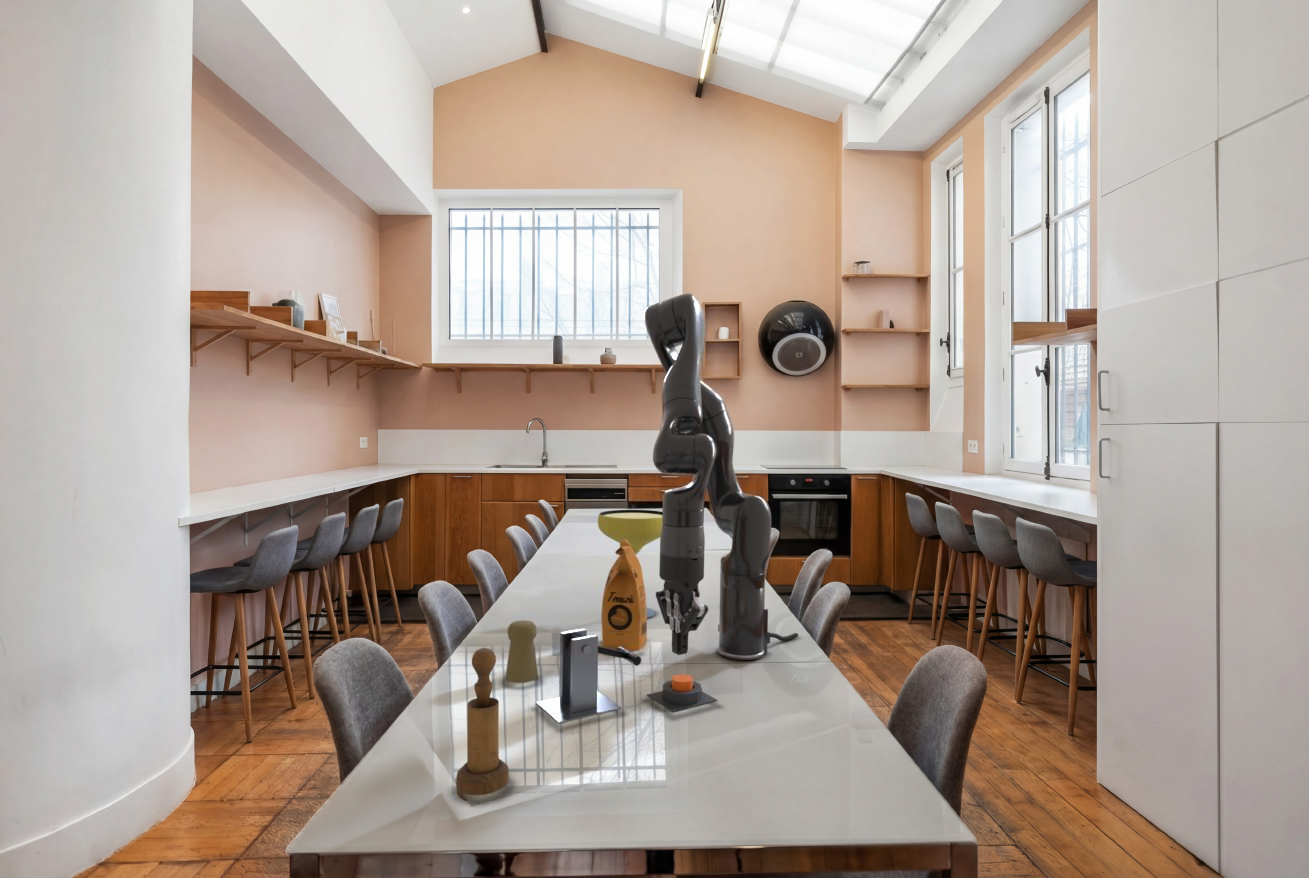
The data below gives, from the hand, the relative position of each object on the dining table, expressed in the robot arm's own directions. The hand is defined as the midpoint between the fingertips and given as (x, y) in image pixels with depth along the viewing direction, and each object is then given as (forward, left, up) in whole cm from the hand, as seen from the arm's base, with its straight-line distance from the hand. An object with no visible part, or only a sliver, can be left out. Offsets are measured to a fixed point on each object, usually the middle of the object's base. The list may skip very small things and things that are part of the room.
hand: (679, 652), depth 116 cm
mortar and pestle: (+37, +9, -9) cm, 39 cm away
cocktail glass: (-22, -52, -9) cm, 57 cm away
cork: (+19, -23, -9) cm, 31 cm away
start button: (0, 0, -6) cm, 6 cm away
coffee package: (-7, -31, -9) cm, 33 cm away
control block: (0, 0, -9) cm, 9 cm away
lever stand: (+16, -6, -9) cm, 19 cm away
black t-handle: (+12, -6, 0) cm, 13 cm away
